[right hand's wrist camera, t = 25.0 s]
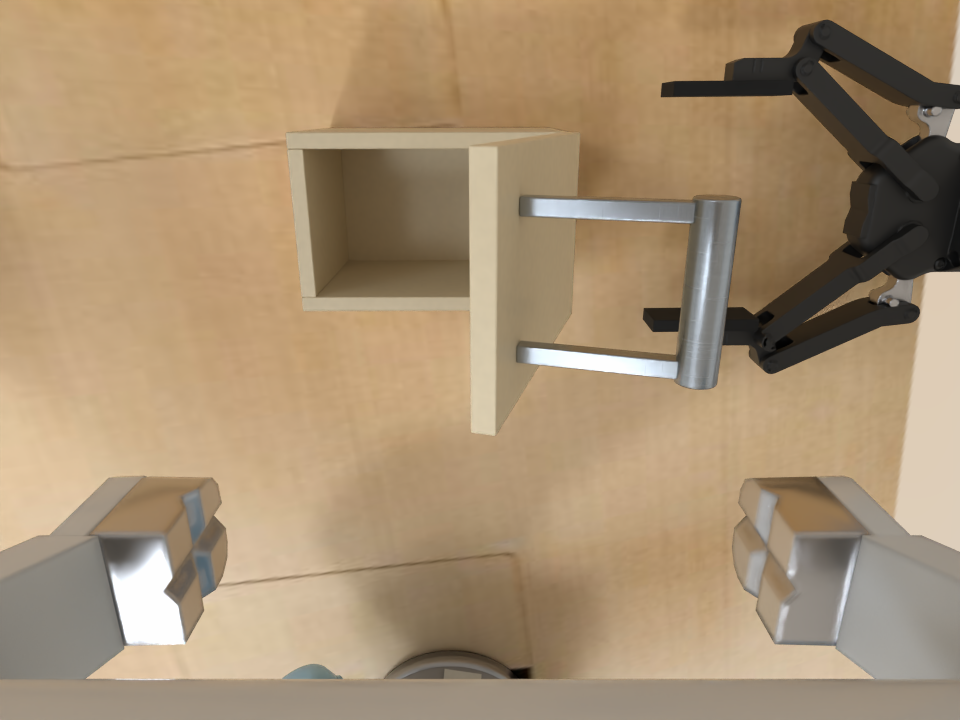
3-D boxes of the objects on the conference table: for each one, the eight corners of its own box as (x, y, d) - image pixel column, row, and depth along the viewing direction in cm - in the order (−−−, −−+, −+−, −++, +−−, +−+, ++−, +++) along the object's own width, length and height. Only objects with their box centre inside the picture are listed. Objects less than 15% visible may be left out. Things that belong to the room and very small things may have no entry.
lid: (470, 433, 24) (713, 466, 21) (467, 145, 20) (757, 148, 18) (555, 313, 38) (706, 325, 36) (562, 132, 34) (730, 133, 32)
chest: (340, 269, 49) (302, 311, 38) (329, 127, 45) (285, 132, 35) (544, 269, 49) (562, 311, 38) (549, 127, 45) (570, 131, 35)
